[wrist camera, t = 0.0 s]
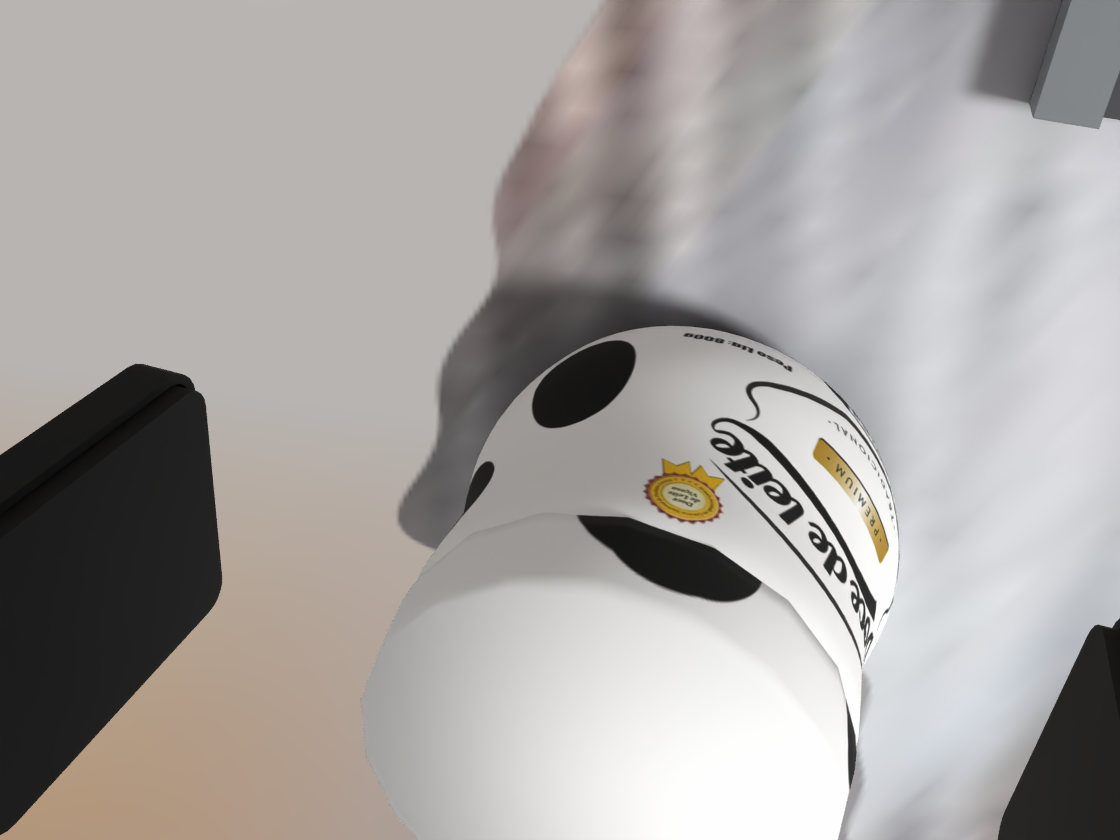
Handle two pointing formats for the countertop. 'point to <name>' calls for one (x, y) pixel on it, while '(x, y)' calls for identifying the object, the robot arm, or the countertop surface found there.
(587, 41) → the countertop surface
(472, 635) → the milk container
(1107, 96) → the trap board
